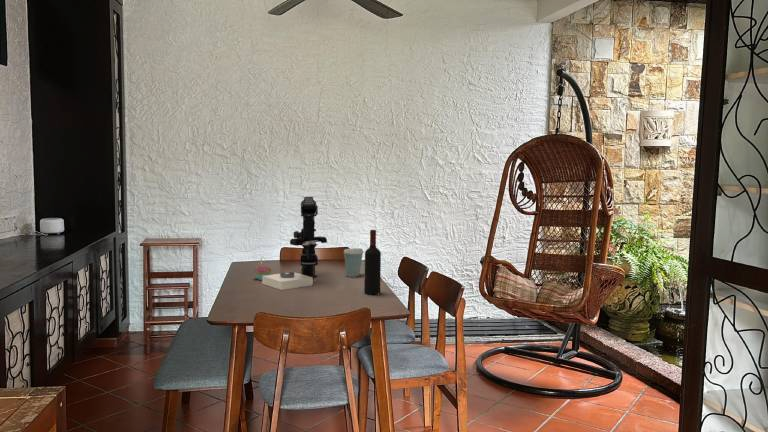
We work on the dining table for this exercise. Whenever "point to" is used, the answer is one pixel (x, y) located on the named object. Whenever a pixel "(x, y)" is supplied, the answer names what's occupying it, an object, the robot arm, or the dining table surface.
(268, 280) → the block
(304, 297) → the dining table surface
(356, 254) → the disposable coffee cup
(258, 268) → the cupcake
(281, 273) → the plunger
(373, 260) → the wine bottle
